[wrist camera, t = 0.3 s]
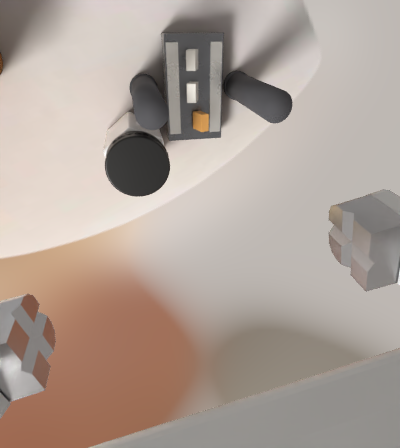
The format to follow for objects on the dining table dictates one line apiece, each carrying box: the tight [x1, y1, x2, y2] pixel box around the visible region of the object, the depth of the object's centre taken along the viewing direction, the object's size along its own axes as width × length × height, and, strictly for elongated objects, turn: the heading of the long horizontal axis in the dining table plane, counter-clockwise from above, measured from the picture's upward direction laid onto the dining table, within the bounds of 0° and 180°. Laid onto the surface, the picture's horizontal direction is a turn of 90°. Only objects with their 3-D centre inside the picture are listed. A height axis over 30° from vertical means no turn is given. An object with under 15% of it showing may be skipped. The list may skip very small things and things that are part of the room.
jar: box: [103, 112, 170, 196], centre depth 47 cm, size 9×8×12 cm
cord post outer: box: [224, 71, 292, 123], centre depth 44 cm, size 4×4×16 cm
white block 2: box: [187, 81, 199, 103], centre depth 46 cm, size 2×1×2 cm, turn 0°
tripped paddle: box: [193, 111, 209, 132], centre depth 48 cm, size 2×1×2 cm, turn 0°
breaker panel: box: [161, 33, 224, 141], centre depth 48 cm, size 14×8×3 cm, turn 0°
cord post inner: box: [130, 74, 169, 130], centre depth 42 cm, size 4×4×16 cm
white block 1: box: [186, 49, 198, 71], centre depth 44 cm, size 2×1×2 cm, turn 0°
